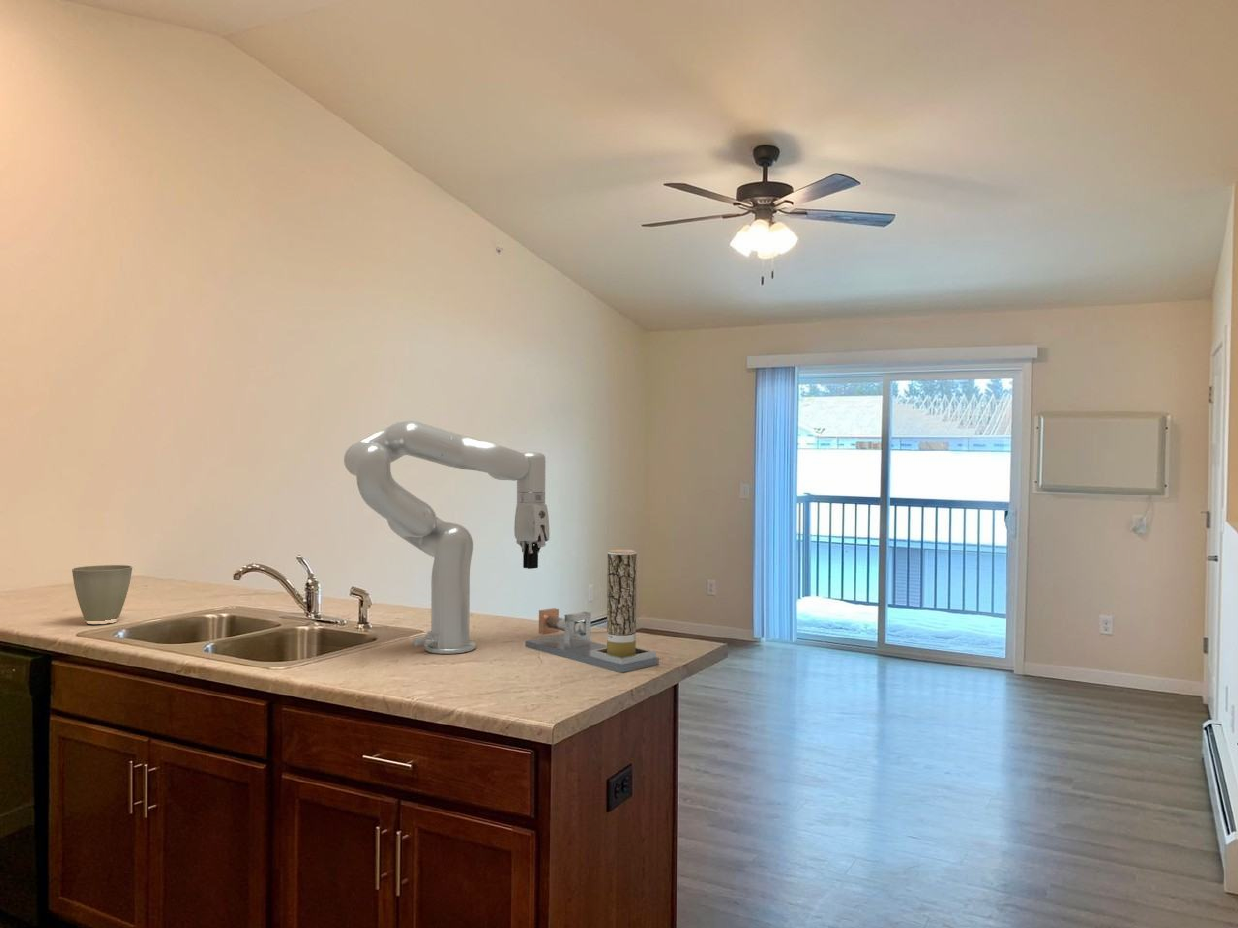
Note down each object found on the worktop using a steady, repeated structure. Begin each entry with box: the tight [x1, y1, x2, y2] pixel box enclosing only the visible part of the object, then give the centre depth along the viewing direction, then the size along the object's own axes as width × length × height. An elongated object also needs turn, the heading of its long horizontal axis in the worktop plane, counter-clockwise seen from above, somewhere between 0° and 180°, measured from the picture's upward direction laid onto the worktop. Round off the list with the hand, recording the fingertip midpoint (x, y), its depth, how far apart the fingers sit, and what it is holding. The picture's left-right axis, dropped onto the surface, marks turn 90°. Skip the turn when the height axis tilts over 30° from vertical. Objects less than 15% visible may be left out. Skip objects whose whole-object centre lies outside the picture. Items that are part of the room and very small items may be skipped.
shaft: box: [538, 607, 586, 636], centre depth 217 cm, size 5×14×6 cm, turn 43°
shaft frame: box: [524, 611, 660, 674], centre depth 210 cm, size 12×36×10 cm, turn 43°
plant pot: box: [71, 564, 133, 622], centre depth 245 cm, size 15×15×16 cm
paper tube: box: [606, 549, 638, 657], centre depth 201 cm, size 7×7×25 cm
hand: (530, 567), depth 227 cm, fingers closed
